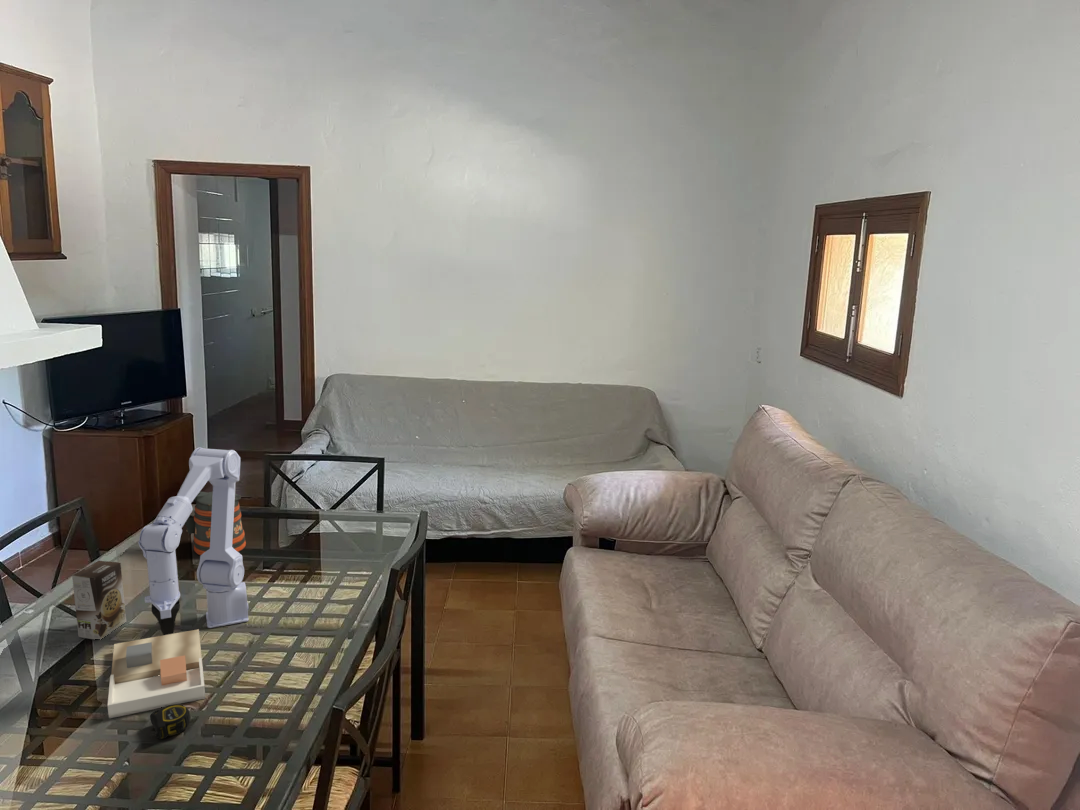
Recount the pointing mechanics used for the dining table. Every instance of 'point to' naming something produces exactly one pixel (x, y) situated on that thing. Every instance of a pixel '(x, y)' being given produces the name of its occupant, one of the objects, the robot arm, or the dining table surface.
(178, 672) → the tile terracotta
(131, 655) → the tile slate
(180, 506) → the robot arm
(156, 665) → the deck
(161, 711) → the tape measure
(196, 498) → the beer stein
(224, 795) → the dining table surface
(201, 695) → the box
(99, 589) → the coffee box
